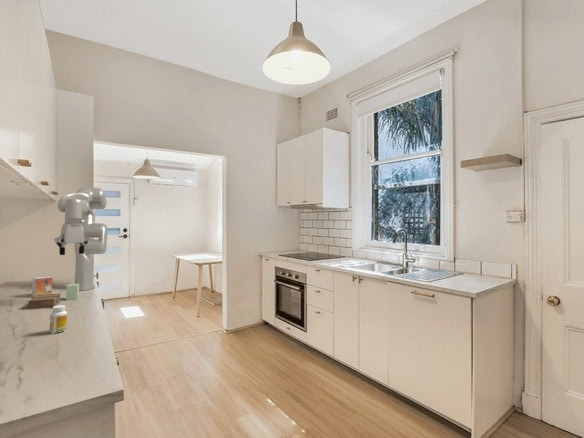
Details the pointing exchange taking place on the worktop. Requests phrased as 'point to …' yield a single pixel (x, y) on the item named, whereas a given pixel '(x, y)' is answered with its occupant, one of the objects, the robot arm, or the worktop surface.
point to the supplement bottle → (58, 319)
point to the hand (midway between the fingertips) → (72, 254)
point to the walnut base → (44, 301)
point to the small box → (42, 286)
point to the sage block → (72, 292)
